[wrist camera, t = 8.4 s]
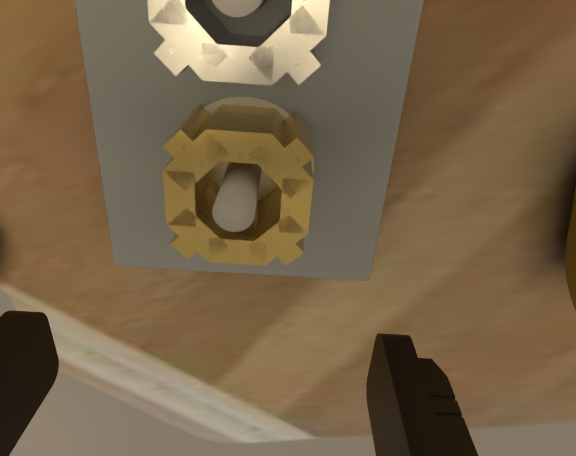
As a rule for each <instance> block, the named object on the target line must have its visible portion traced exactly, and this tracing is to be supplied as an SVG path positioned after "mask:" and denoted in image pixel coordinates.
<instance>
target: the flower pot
mask: <svg viewBox="0 0 576 456" xmlns="http://www.w3.org/2000/svg"><path fill="white" fill-rule="evenodd" d="M566 276H567V283H568V288H569V292H570V296H571V299H572V302H573V305H574V307H575V310H576V187H575V193H574V199H573V207H572V212H571V218H570V224H569V230H568V235H567V240H566Z"/></svg>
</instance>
